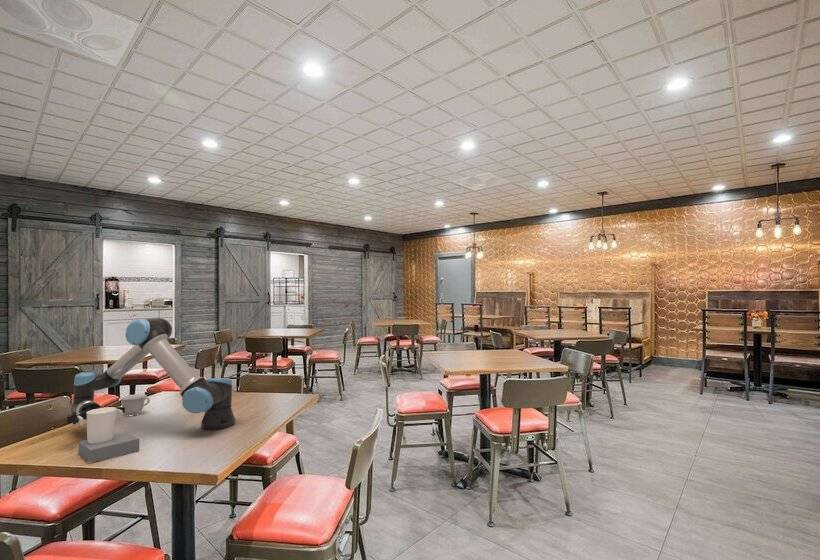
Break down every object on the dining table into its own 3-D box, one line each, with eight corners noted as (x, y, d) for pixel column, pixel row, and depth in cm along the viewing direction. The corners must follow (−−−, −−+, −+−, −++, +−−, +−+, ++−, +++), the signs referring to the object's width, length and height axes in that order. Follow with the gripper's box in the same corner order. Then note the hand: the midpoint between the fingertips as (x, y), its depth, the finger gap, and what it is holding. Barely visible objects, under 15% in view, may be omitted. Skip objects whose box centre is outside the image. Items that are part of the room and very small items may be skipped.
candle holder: (79, 445, 153) (80, 414, 154) (93, 437, 163) (95, 408, 163) (107, 443, 155) (109, 412, 156) (120, 435, 165) (121, 406, 165)
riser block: (125, 443, 170) (125, 431, 170) (139, 451, 160) (139, 438, 161) (78, 454, 157) (78, 441, 158) (89, 463, 148) (90, 450, 148)
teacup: (141, 418, 209) (141, 399, 209) (113, 418, 209) (114, 399, 210) (156, 412, 221) (156, 393, 221) (130, 412, 221) (130, 394, 222)
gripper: (121, 412, 189) (136, 420, 176) (52, 425, 169) (63, 434, 156) (121, 396, 189) (137, 403, 176) (52, 407, 170) (64, 415, 157)
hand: (102, 418), depth 166 cm, fingers open, 13 cm apart
